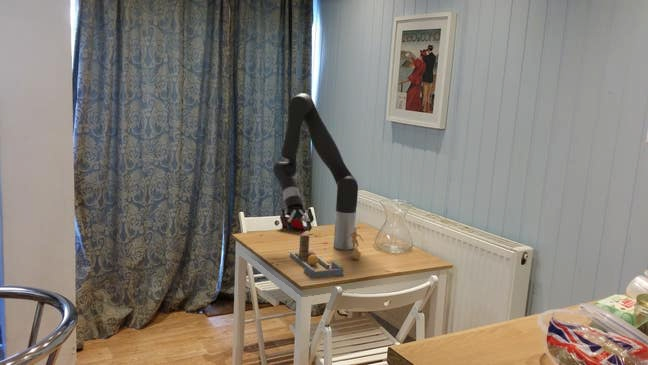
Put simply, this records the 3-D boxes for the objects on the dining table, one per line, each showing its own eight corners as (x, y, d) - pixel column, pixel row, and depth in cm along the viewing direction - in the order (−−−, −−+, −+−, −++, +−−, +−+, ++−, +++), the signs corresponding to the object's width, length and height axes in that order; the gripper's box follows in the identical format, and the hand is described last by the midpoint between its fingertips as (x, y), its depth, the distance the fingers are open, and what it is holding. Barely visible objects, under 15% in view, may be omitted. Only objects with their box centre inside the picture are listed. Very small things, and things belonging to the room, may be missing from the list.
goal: (333, 268, 232) (334, 261, 231) (342, 275, 224) (343, 268, 223) (304, 271, 226) (304, 263, 226) (312, 278, 219) (312, 270, 218)
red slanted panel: (310, 229, 293) (310, 215, 292) (301, 233, 283) (301, 219, 282) (288, 225, 298) (289, 211, 296) (278, 229, 288) (279, 215, 287)
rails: (310, 254, 249) (310, 250, 249) (329, 268, 231) (329, 264, 231) (289, 255, 245) (289, 252, 245) (307, 270, 227) (307, 266, 227)
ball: (315, 262, 237) (316, 252, 237) (319, 266, 233) (320, 255, 233) (305, 263, 236) (306, 253, 235) (310, 267, 232) (310, 256, 231)
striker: (307, 254, 247) (309, 233, 245) (314, 259, 240) (315, 237, 239) (294, 255, 245) (296, 233, 243) (301, 260, 238) (302, 238, 236)
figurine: (350, 261, 241) (352, 234, 239) (342, 257, 247) (344, 231, 244) (366, 259, 246) (368, 233, 244) (358, 255, 251) (360, 229, 249)
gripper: (279, 195, 248) (287, 227, 240) (309, 194, 254) (318, 225, 246) (275, 204, 254) (282, 236, 246) (304, 203, 260) (313, 234, 252)
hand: (300, 230), depth 246 cm, fingers open, 8 cm apart
